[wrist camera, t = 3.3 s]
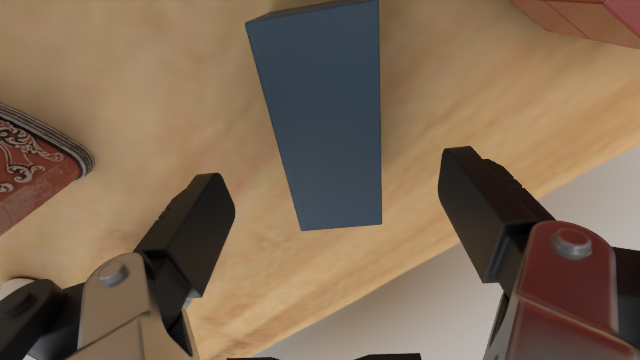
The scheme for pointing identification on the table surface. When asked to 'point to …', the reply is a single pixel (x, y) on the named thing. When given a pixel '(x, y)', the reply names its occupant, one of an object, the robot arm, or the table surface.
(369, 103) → the blue rectangular block
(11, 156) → the lighter
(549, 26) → the bowl
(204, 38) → the table surface
